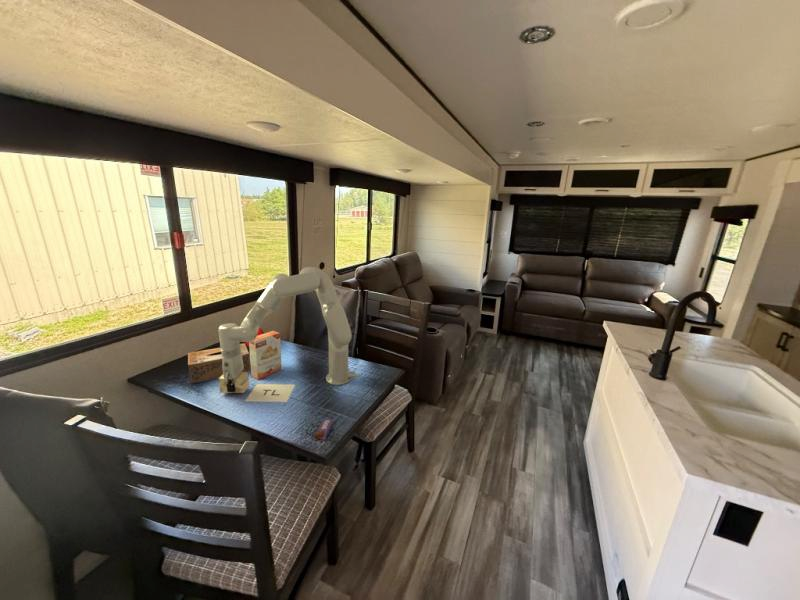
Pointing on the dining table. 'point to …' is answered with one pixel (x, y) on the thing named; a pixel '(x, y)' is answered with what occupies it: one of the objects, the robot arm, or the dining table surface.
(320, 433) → the snack package
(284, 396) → the mat
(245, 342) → the tomato
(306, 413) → the dining table surface
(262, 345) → the cracker box
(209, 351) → the tissue box cover
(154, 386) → the dining table surface
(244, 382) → the maple block
